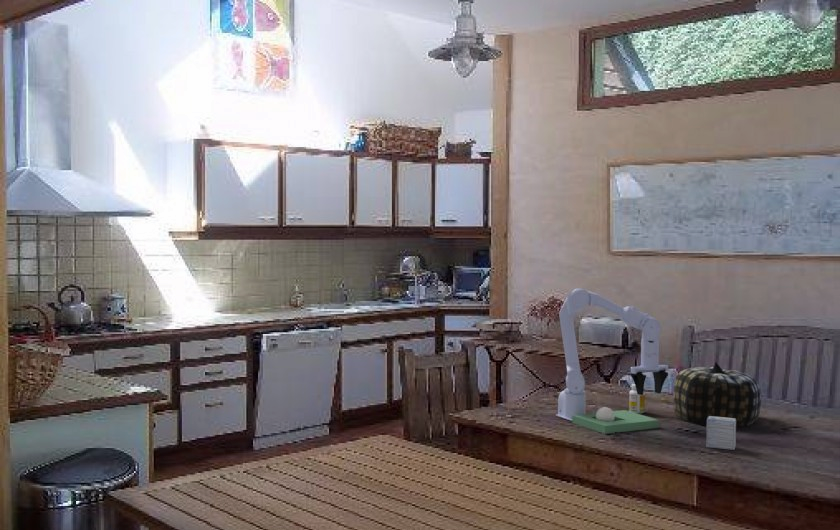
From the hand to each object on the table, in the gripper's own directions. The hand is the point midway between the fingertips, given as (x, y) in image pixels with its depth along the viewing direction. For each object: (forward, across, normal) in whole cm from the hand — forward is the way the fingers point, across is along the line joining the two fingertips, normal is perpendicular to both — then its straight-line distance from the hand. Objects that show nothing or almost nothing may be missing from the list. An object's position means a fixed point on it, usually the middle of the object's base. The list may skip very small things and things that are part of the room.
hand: (649, 393), depth 285 cm
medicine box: (+10, -4, -36) cm, 37 cm away
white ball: (+6, -18, 0) cm, 19 cm away
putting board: (+9, -14, 0) cm, 17 cm away
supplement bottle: (+10, +7, +14) cm, 18 cm away
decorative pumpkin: (+10, +25, -5) cm, 27 cm away
